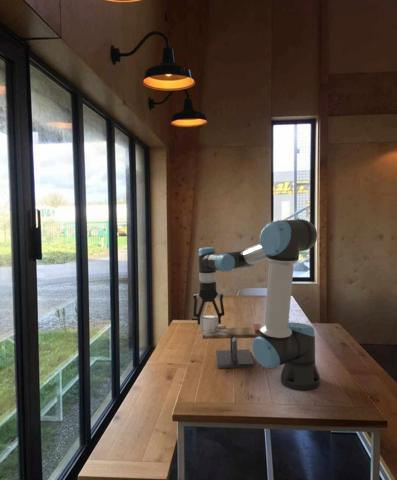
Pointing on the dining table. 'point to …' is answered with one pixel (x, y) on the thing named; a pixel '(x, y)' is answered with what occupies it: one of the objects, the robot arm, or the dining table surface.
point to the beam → (233, 332)
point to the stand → (234, 357)
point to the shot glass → (209, 323)
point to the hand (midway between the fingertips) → (209, 330)
